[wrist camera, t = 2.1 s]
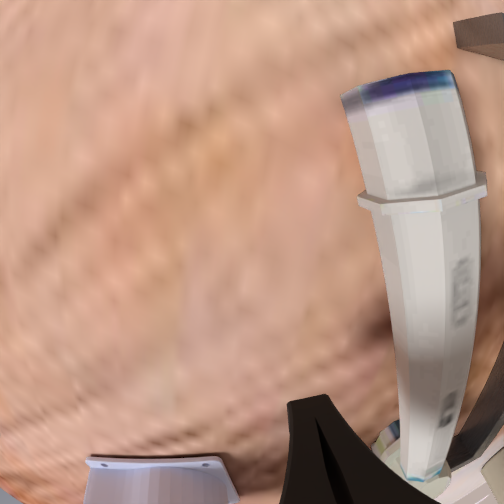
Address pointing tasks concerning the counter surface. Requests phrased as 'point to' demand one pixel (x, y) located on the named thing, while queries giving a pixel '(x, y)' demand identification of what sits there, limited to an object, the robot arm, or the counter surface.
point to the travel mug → (495, 475)
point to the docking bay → (500, 380)
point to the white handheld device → (422, 256)
